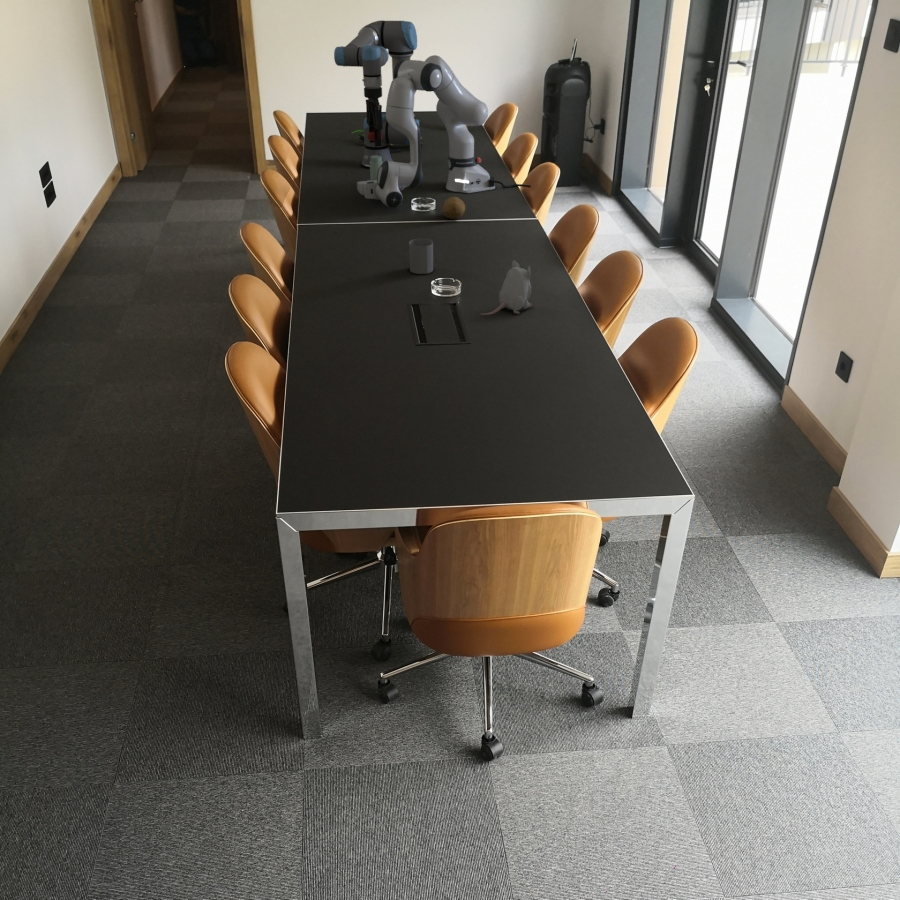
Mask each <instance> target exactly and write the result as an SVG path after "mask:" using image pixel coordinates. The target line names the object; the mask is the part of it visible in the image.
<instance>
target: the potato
mask: <svg viewBox="0 0 900 900" xmlns="http://www.w3.org/2000/svg"><path fill="white" fill-rule="evenodd" d="M465 210H466V204H465V202H464V200H462V199H460V197H458V196H449V197H447V198H446V200H445V201H444V202H443V203H442V207H441V213H442V214H443V216H445V217H446V218H448V219H450V220H458V219H460V218H462V216H464V214H465Z"/></svg>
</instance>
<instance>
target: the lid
mask: <svg viewBox="0 0 900 900" xmlns="http://www.w3.org/2000/svg"><path fill="white" fill-rule="evenodd" d="M382 139H383V135H382V132H381V140H382ZM368 140H371V141H375V137H374V132H369V133H368Z"/></svg>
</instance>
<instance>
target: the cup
mask: <svg viewBox="0 0 900 900" xmlns="http://www.w3.org/2000/svg"><path fill="white" fill-rule="evenodd" d="M408 253H409V272H411V273H412V274H416V275H426V274H430V273H432V272H434V241H433V240H431V239H428V238H422V237H421V238H420V237H419V238H414V239H411V240H410V241H409V242H408Z"/></svg>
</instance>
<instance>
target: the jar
mask: <svg viewBox="0 0 900 900" xmlns="http://www.w3.org/2000/svg"><path fill="white" fill-rule="evenodd" d="M381 158H382V157H381V156H379V155H374V156H371V157H370V159H371V161H370V168H369V172H370V173H369V176H370V179H369V180H371V181H372V180H377V173H378V169H379V167H380V166H381V164H382V163H383V162H382V159H381Z"/></svg>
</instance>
